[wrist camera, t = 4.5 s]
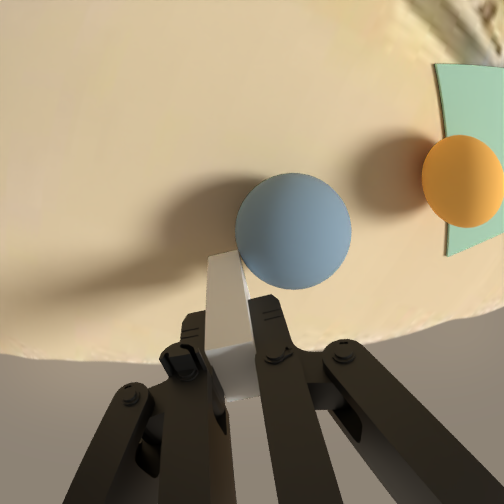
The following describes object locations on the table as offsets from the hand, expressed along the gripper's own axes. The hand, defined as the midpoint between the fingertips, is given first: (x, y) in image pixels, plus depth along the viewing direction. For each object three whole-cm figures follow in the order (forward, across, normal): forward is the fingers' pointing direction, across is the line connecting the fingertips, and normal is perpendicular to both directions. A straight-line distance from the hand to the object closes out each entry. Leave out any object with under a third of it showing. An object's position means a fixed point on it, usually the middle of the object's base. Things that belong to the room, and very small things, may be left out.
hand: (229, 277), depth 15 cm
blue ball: (0, +4, +2) cm, 4 cm away
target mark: (+3, +22, +3) cm, 23 cm away
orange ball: (0, +14, +2) cm, 15 cm away
